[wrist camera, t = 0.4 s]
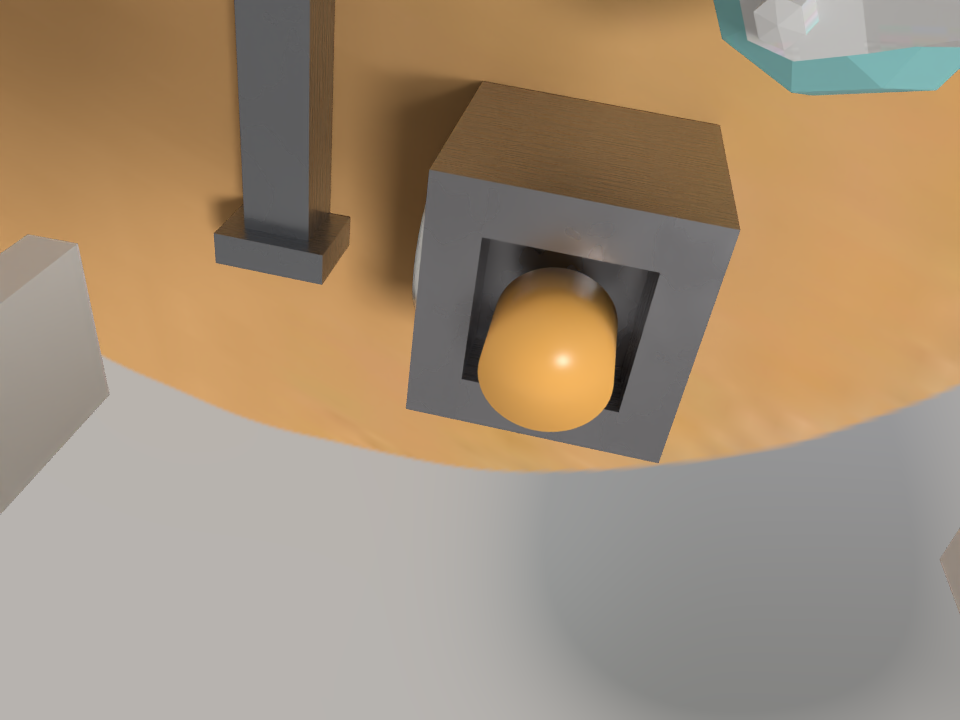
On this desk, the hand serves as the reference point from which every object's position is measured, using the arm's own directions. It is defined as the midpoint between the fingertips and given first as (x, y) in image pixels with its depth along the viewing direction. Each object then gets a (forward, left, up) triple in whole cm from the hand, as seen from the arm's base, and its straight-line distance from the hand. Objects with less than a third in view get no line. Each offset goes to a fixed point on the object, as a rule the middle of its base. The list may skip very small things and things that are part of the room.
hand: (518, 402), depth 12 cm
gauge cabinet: (+8, 0, -25) cm, 26 cm away
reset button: (+8, +1, -16) cm, 18 cm away
